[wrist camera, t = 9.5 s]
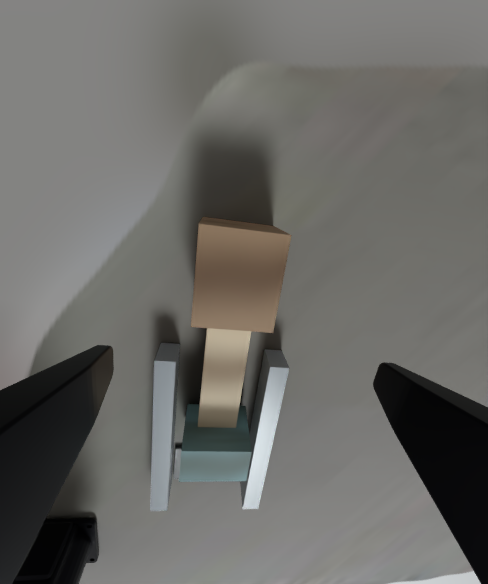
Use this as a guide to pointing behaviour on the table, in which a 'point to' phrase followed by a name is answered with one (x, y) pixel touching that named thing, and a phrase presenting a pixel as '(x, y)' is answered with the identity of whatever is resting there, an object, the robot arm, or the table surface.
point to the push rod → (218, 414)
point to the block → (238, 275)
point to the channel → (260, 432)
